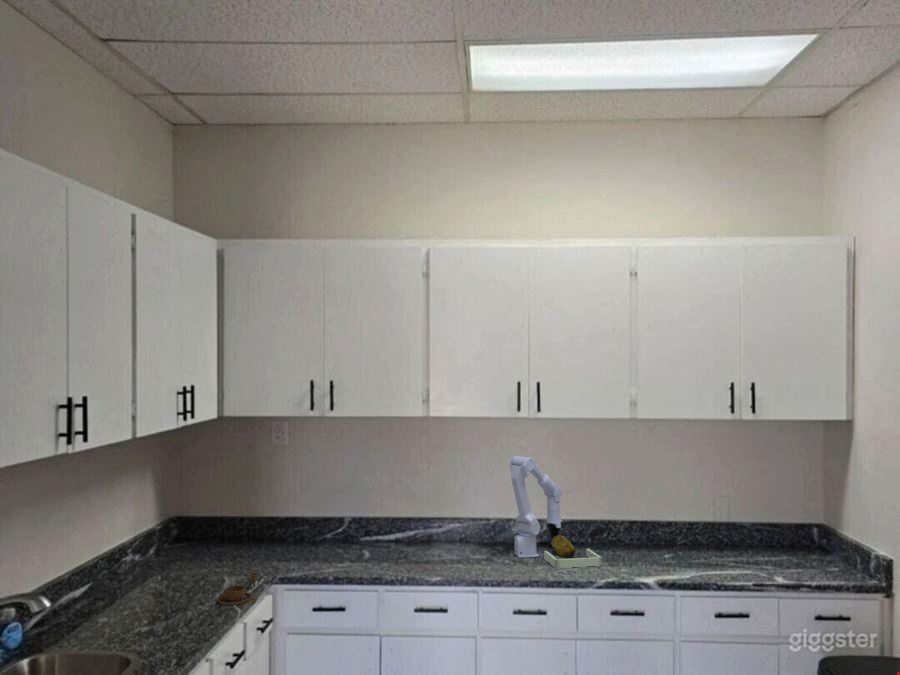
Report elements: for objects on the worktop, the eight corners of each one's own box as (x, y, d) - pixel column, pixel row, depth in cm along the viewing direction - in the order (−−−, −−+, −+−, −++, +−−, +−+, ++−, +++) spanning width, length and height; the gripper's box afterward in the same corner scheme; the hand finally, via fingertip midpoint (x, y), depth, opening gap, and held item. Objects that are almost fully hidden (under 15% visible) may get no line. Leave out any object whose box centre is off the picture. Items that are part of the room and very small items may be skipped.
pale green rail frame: (555, 568, 287) (555, 560, 287) (544, 559, 302) (544, 551, 302) (602, 566, 291) (602, 557, 291) (588, 556, 306) (588, 548, 306)
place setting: (206, 600, 252) (206, 584, 252) (254, 587, 267) (254, 572, 267) (233, 611, 240) (233, 594, 241) (281, 597, 255) (281, 580, 256)
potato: (559, 559, 302) (558, 540, 302) (549, 552, 314) (548, 534, 315) (577, 558, 303) (576, 539, 304) (566, 550, 316) (566, 533, 316)
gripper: (567, 513, 315) (567, 543, 314) (556, 507, 329) (556, 536, 329) (552, 514, 314) (552, 544, 313) (542, 507, 328) (542, 537, 327)
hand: (553, 540), depth 321 cm, fingers closed
